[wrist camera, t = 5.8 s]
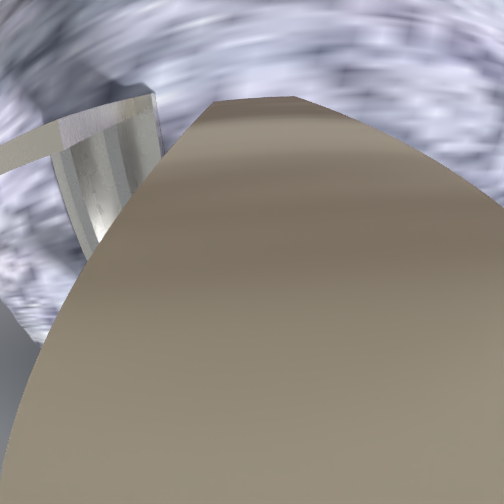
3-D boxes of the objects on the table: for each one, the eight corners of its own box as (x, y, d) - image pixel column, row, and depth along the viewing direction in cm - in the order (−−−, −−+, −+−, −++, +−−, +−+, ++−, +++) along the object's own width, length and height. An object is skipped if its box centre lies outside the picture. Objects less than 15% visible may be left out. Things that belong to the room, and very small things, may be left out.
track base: (50, 124, 25) (-40, 169, 12) (155, 92, 25) (84, 109, 12) (116, 310, 42) (89, 392, 29) (198, 306, 42) (190, 399, 29)
